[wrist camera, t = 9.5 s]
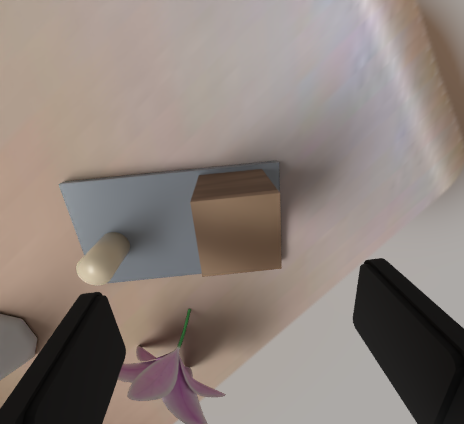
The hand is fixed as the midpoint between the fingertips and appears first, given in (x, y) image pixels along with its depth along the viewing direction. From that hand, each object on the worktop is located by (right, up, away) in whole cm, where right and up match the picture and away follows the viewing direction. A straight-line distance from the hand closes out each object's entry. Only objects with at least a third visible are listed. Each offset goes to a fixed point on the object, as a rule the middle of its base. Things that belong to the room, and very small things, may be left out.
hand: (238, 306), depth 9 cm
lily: (-7, -10, +19) cm, 23 cm away
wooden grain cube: (0, +4, +12) cm, 13 cm away
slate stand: (-5, +2, +14) cm, 15 cm away
